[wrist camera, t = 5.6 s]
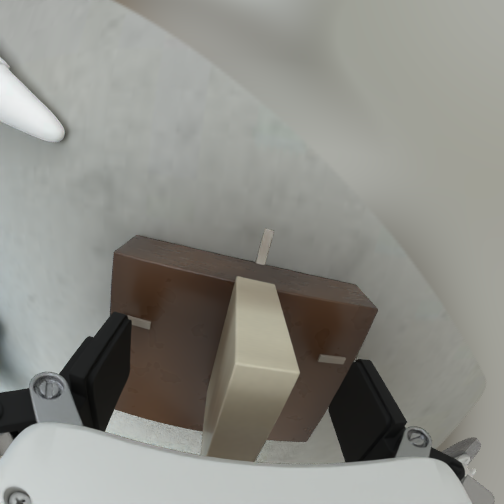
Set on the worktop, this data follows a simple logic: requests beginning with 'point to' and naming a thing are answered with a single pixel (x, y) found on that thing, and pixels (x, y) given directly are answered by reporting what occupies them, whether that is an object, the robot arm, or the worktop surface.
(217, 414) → the handle
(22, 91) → the long cone
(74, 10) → the worktop surface
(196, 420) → the panel
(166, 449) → the robot arm
